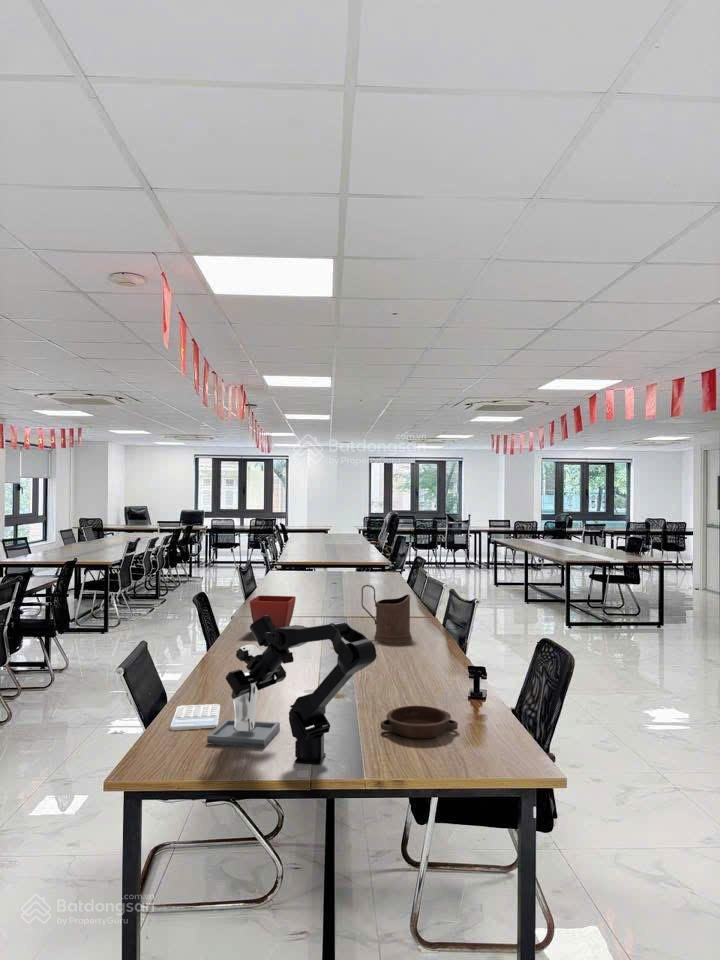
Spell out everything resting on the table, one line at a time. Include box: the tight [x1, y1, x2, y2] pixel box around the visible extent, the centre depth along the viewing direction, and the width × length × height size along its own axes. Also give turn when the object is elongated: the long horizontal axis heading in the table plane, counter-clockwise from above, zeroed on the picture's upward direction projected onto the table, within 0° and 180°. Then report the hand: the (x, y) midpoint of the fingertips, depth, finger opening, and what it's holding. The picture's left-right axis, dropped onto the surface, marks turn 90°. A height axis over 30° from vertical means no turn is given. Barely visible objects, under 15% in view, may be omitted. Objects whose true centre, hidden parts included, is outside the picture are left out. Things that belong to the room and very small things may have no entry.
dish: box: [379, 705, 459, 739], centre depth 196 cm, size 18×22×5 cm
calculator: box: [169, 703, 221, 731], centre depth 207 cm, size 13×20×2 cm, turn 9°
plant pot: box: [249, 595, 297, 629], centre depth 334 cm, size 19×19×17 cm
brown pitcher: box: [361, 584, 413, 643], centre depth 323 cm, size 18×24×25 cm
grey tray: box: [206, 718, 281, 749], centre depth 191 cm, size 16×14×2 cm
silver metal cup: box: [231, 671, 259, 732], centre depth 191 cm, size 7×7×15 cm
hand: (241, 694), depth 192 cm, fingers closed on silver metal cup, 7 cm apart
